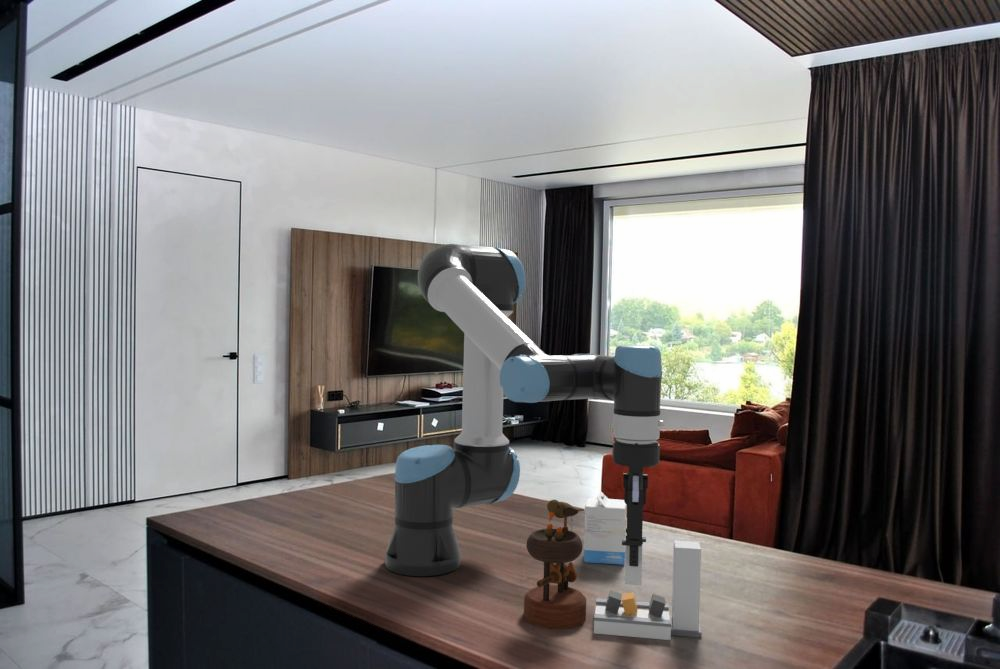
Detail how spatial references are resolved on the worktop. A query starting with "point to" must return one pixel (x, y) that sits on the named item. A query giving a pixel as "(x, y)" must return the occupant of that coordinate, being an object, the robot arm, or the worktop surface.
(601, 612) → the breaker board
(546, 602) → the music box
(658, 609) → the paddle
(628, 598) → the paddle
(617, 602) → the paddle
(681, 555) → the post
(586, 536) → the ink box
